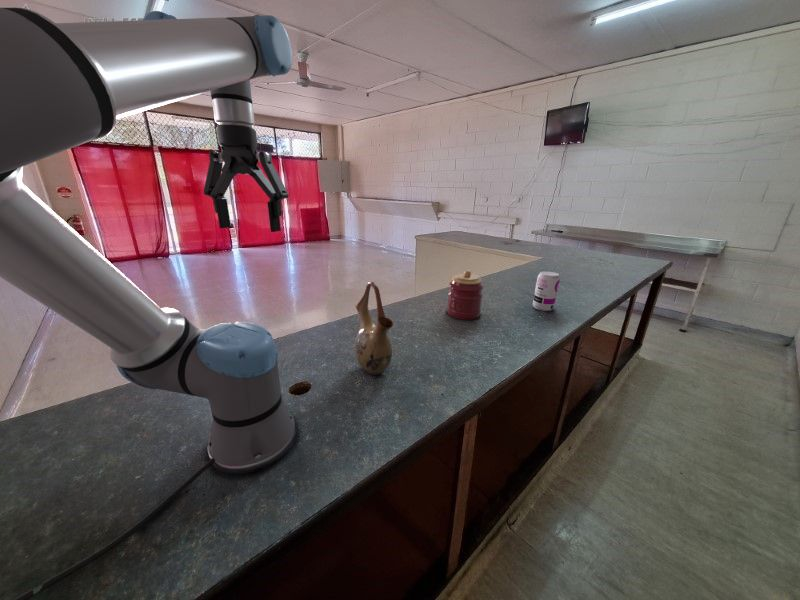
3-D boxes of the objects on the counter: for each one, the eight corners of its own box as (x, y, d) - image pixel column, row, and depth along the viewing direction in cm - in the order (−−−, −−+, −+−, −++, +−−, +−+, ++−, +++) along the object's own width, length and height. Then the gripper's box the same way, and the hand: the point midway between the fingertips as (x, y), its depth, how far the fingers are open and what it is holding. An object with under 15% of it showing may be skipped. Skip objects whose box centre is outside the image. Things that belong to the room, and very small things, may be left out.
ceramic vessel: (403, 380, 81) (407, 288, 73) (372, 391, 77) (372, 294, 68) (373, 352, 94) (373, 271, 86) (345, 360, 90) (342, 276, 81)
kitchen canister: (487, 315, 123) (492, 272, 117) (463, 323, 116) (468, 277, 110) (463, 305, 133) (467, 264, 127) (439, 311, 126) (443, 268, 120)
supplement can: (554, 306, 134) (561, 272, 129) (551, 313, 127) (559, 277, 122) (534, 302, 138) (540, 269, 133) (530, 308, 132) (536, 273, 126)
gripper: (299, 128, 67) (306, 230, 74) (201, 129, 72) (217, 224, 80) (277, 122, 60) (288, 235, 67) (171, 124, 65) (192, 228, 73)
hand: (250, 229), depth 73 cm, fingers open, 13 cm apart
